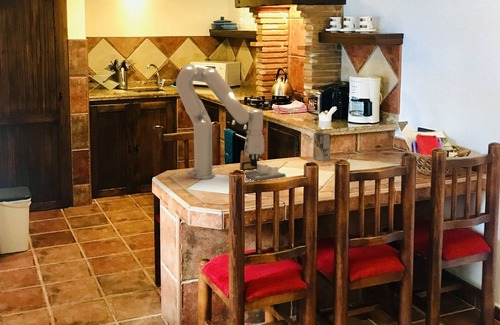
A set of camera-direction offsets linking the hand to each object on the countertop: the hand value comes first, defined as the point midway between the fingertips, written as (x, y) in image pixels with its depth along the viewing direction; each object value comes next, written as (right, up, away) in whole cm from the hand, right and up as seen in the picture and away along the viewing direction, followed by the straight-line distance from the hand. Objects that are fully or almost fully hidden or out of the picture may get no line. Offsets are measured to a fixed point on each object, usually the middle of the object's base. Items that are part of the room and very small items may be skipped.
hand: (253, 166), depth 353 cm
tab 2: (+11, -5, -1) cm, 12 cm away
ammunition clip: (-2, -3, +15) cm, 15 cm away
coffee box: (+42, +3, +43) cm, 60 cm away
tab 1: (+5, -4, +4) cm, 7 cm away
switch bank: (+5, -6, 0) cm, 8 cm away
